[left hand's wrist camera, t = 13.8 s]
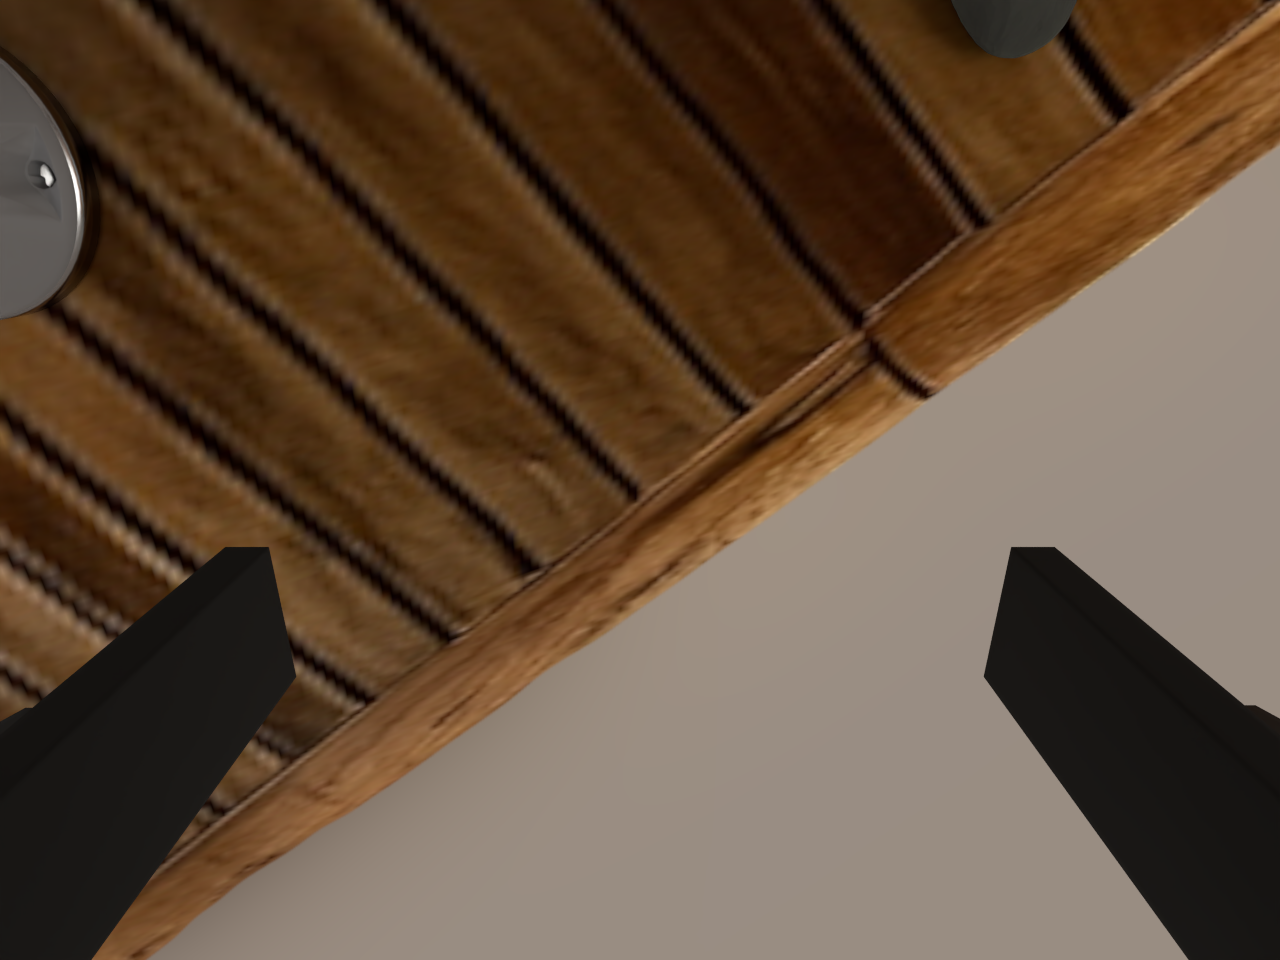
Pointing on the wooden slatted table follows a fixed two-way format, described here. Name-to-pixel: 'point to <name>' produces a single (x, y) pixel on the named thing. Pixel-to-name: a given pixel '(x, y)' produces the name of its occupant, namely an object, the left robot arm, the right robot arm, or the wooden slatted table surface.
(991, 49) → the ballet flat
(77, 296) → the wooden slatted table surface
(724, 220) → the wooden slatted table surface
